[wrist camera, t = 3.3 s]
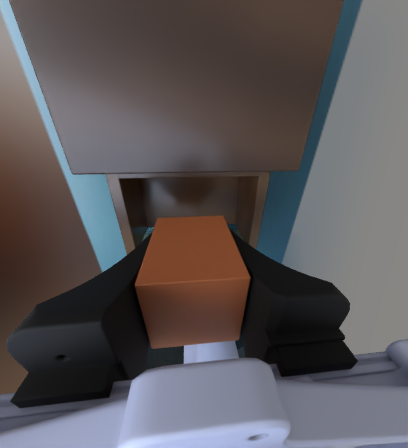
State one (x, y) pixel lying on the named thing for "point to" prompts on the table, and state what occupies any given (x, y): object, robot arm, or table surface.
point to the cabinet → (180, 80)
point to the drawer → (188, 200)
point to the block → (192, 283)
